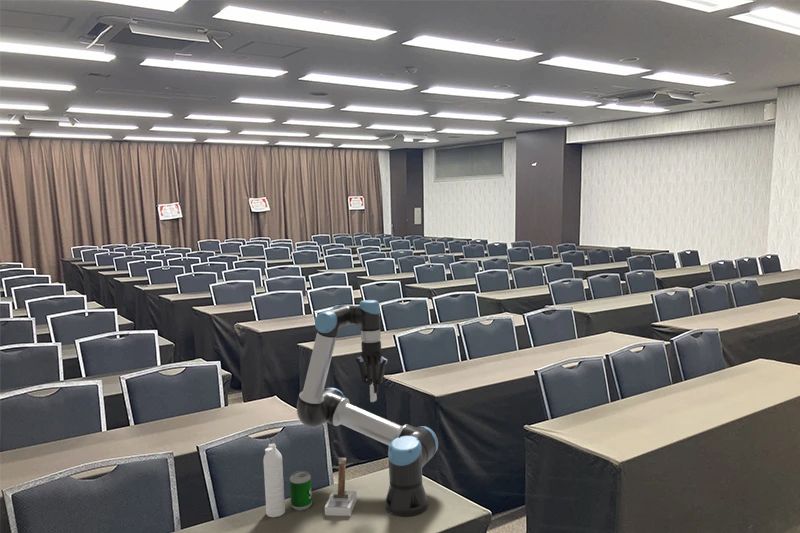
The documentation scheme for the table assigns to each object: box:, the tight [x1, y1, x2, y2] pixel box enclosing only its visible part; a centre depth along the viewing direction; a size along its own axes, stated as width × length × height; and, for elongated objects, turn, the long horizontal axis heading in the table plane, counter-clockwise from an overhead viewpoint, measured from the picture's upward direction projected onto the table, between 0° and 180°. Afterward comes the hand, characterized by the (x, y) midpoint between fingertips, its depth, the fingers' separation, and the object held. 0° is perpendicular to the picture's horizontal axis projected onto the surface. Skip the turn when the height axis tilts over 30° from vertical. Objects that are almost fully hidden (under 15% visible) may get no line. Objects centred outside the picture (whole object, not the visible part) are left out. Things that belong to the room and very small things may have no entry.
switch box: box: [324, 489, 358, 517], centre depth 203 cm, size 9×12×5 cm
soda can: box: [289, 470, 313, 512], centre depth 204 cm, size 8×8×12 cm
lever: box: [334, 457, 348, 498], centre depth 205 cm, size 5×3×14 cm, turn 83°
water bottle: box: [262, 442, 286, 518], centre depth 199 cm, size 9×6×25 cm
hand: (373, 400), depth 220 cm, fingers closed
